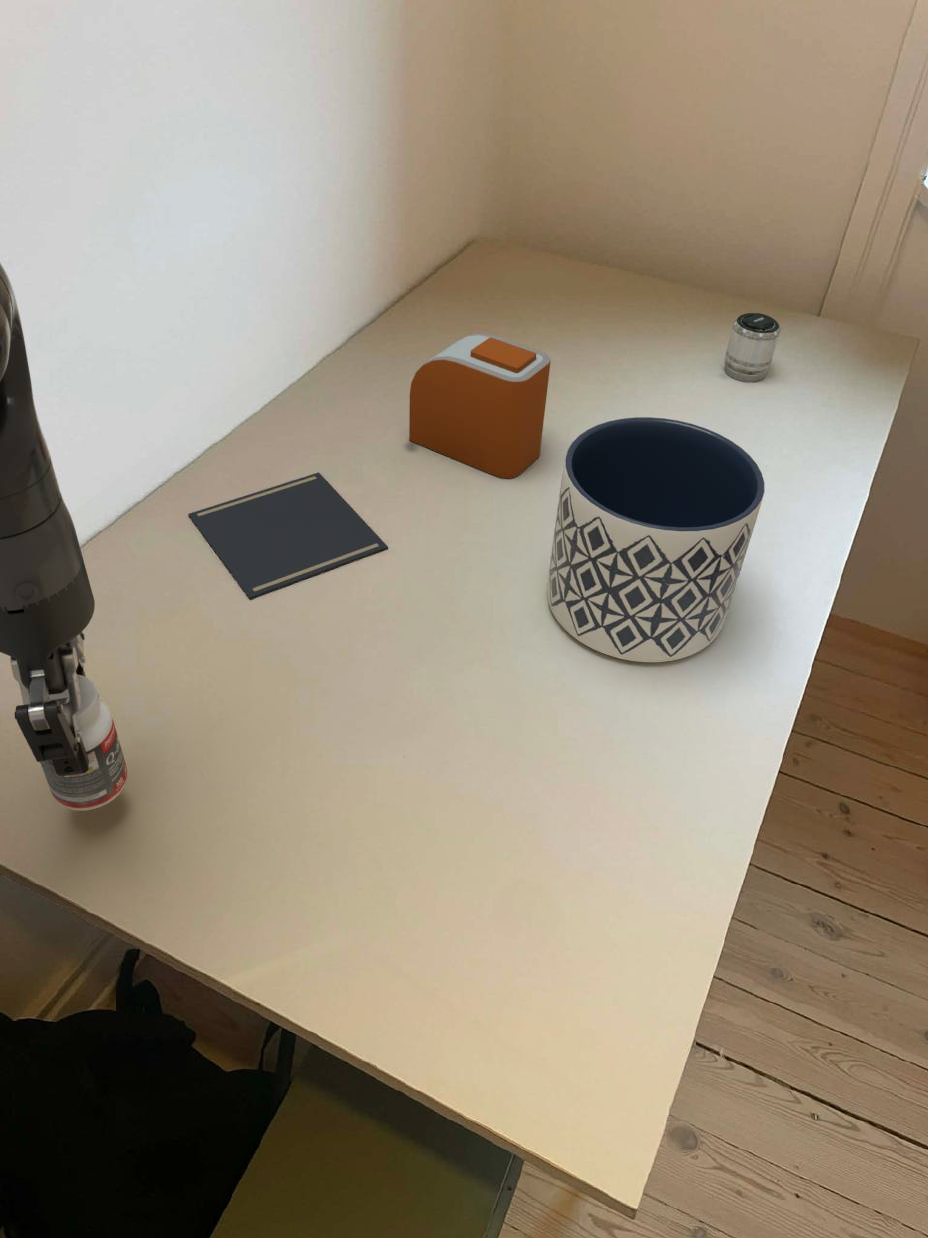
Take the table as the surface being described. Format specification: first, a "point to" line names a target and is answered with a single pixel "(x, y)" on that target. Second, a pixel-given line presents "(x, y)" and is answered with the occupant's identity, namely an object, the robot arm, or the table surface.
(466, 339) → the alarm clock
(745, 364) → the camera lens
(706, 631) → the planter
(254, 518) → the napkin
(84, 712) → the pill bottle
